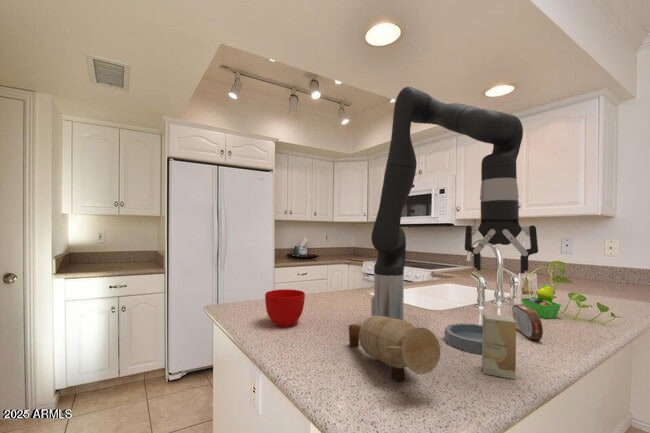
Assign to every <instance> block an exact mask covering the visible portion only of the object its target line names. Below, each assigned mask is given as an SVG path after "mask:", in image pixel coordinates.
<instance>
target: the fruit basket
mask: <svg viewBox="0 0 650 433" xmlns="http://www.w3.org/2000/svg"><path fill="white" fill-rule="evenodd" d="M554 293H555V290H554V288H553V286H552V285H549V284H544V285H542V287H541V288H539V289H537V290H536V292H535V294H536V296H537V297H534V296H532V297H530V298H529V297H526V298H525V297H524V298H523V297H522V298H521V303H522V304H524V305H526V306H528V307H529V308H531V309H533V310H535V311H536V312H537V313H538V315H539V317H540V319H557V318H558V314H559V311H560V308H561V307H562V304H559V303H557V302H554V298H555V296H554Z"/></svg>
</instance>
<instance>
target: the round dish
mask: <svg viewBox="0 0 650 433" xmlns="http://www.w3.org/2000/svg"><path fill="white" fill-rule="evenodd" d="M444 340H445V341H446V342H447V344H448V345H449V346H451V347H454V348H456V349H458V350H460V351H463V352H467V353H473V354H477V355H482V340H483V324H476V323H466V322H465V323H463V322H462V323H461V322H458V323H457V322H456V323H453V324H452V323H451V324H448V325H447V326H446V327H444Z"/></svg>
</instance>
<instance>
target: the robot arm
mask: <svg viewBox="0 0 650 433" xmlns="http://www.w3.org/2000/svg"><path fill="white" fill-rule="evenodd" d="M393 107H394V108H393V115H392V116H393V118H392V127H391V138H390V142H389V143H390V144H389V151H388V156H387V161H386V165H385V168H384V169H385V170H384V176H383V181H382V182H383V183H382V188H381V195H380V201H379V206H378V210H377V214H376V218H375V222H374V223H373V228H372V231H371V244H372V245H373V248H374V249H375V250H376V251H377V258H376V261H375V263H374V266H373V268H374V269H373V273H374V274H373V275H374V277H373V282H374V284H373V296H372V297H371V304H370V305H371V312H370V313H371V315H370V317H371V316H377V315H379V316H384V317H389V318H395V319H400V320H404V317H405V316H404V311H405V309H404V308H405V307H404V305H405V304H404V297H405V296H404V280H405V279H404V274H405V272H404V270H405V265H406V258H407V257H406V254H407V253H406V251H407V241H406V233H405V231H404V229H403V227H401V218H402V213H403V209H404V206H405V204H406V202H407V201H408V200H407V199H408V198H409V196H410V193H411V191H412V188H413V185H414V182H415V181H414V180H415V176H416V170H417V164H418V163H417V156H416V153H415V149H414V146H413V142H412V138H411V127H412V126H411V125H412V123H413V124H424V125H425V124H428V125H437V126H440V127H442V128H444V129H446V130H448V131H451V132H453V133H457V134H461V135H464V136H468V138H471V139H473V140H475V141H478V142H481V143H484V144H489V145H490V144H491V145H493V147H492V151H491V153H490V154H488V155H485V156H484V157H483V158H482V159H481V167H480V168H481V169H480V171H481V173H480V174H481V178H480V179H481V184H480V191H479V192H480V196H479V200H480V223H479V226H476V225H475V226H473V225H466V226H465V236H464V237H465V238H464V251H467V252H470V253H472V254H473V267H474V268H475V269H476V271H478V272H479V271H480V272H481V271H482V254H481V251H482V250H483V249H484V248H485V247H486V246H487V245H488V244H490V245H501V246H508V245H511V244H512V245H513V247H514V248H515V249H516V250H517V251H518V252H519V253H520V254H521V255H520V256H519V257H520V274H526V273H525V272H528V270H529V257H530V256H531V255H534V254H538V253H539V246H538V233H537V227H536V226H535V225H534V224H533V225H530V226H529V225H527V226H521V224H520V217H519V216H520V215H519V211H520V210H519V208H520V207H519V197H520V196H519V187H518V186H519V185H518V181H517V180H518V179H517V159H518V156H519V154H520V153H519V152H520V150H521V146H522V142H523V136H524V127H523V125H522V122H521V119H520V118H519V117H517V116H516V115H514V114H509V113H505V112H503V111H497V110H492V109H488V108H487V109H486V108H480V107H477V106H474V105H468V104H465V103H464V104H463V103H456V102H454V103H444V102H442V101H440V100H438V99H436V98H434V97H433V96H431V95H430V94H428V93H426V92H424V91H422V90H420V89H417V88H415V87H412V86H406V87H403V88H402V89H401V90H400V91H399V93H398V94H397V96H396V100H395V102H394V106H393ZM477 232H479V233H480V234H481V236H482V237H483V238H482V239H481V240H480V242H478V244H477V245H476V246H475V247H474V246H473V236H475V235H476V233H477ZM521 232H524V234H525V236H527V237H529V244H530V248H528V249H527V248H525V247H524V246H523V244H522V243H521V242H520V241H519V240H518V239H517V237H518V236H519V235H520V234H521Z"/></svg>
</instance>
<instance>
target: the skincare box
mask: <svg viewBox="0 0 650 433" xmlns="http://www.w3.org/2000/svg"><path fill="white" fill-rule="evenodd" d="M482 325H483V340H482V354H481V355H482V356H481V367H482V371H483V374H485V375H490V376H496V377H501V378H505V379H512V380H516V371H517V370H516V369H517V368H516V367H517V366H516V364H517V363H516V361H517V360H516V359H517V358H516V357H517V353H516V351H517V329H516V321H515V319H514V318H513V316H505V315H499V314H490V313H489V314H487V313H483V314H482Z"/></svg>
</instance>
